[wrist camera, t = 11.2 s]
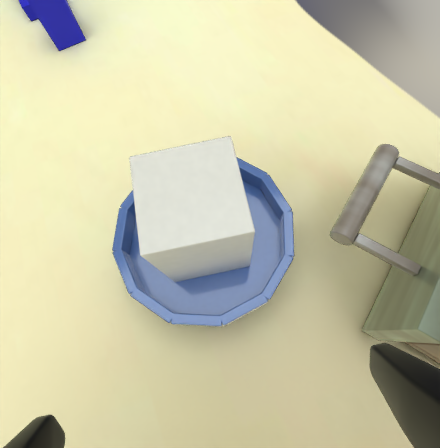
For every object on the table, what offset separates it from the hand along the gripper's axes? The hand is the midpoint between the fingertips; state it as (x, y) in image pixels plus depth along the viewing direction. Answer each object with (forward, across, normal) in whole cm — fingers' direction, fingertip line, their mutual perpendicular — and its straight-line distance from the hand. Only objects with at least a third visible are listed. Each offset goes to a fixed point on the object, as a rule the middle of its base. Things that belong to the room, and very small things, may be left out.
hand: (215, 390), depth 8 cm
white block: (+13, 0, -2) cm, 13 cm away
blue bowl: (+15, 0, -4) cm, 16 cm away
